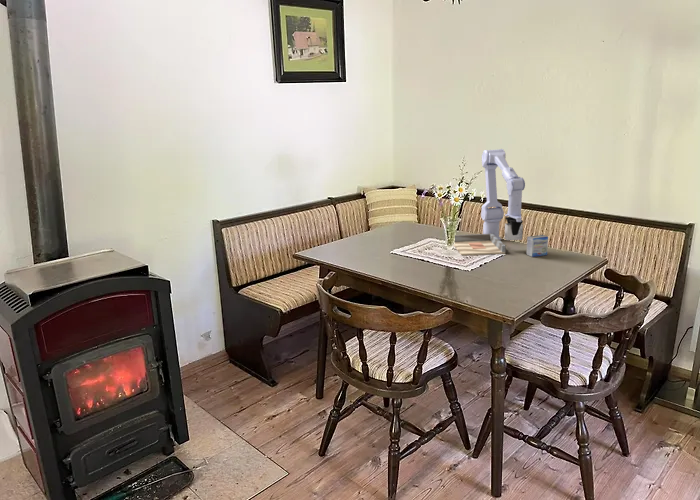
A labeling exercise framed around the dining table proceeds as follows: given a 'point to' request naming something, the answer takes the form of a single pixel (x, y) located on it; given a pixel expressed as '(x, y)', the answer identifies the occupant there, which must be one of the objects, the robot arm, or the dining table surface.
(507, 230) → the aluminium block
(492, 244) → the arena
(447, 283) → the dining table surface
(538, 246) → the medicine box
